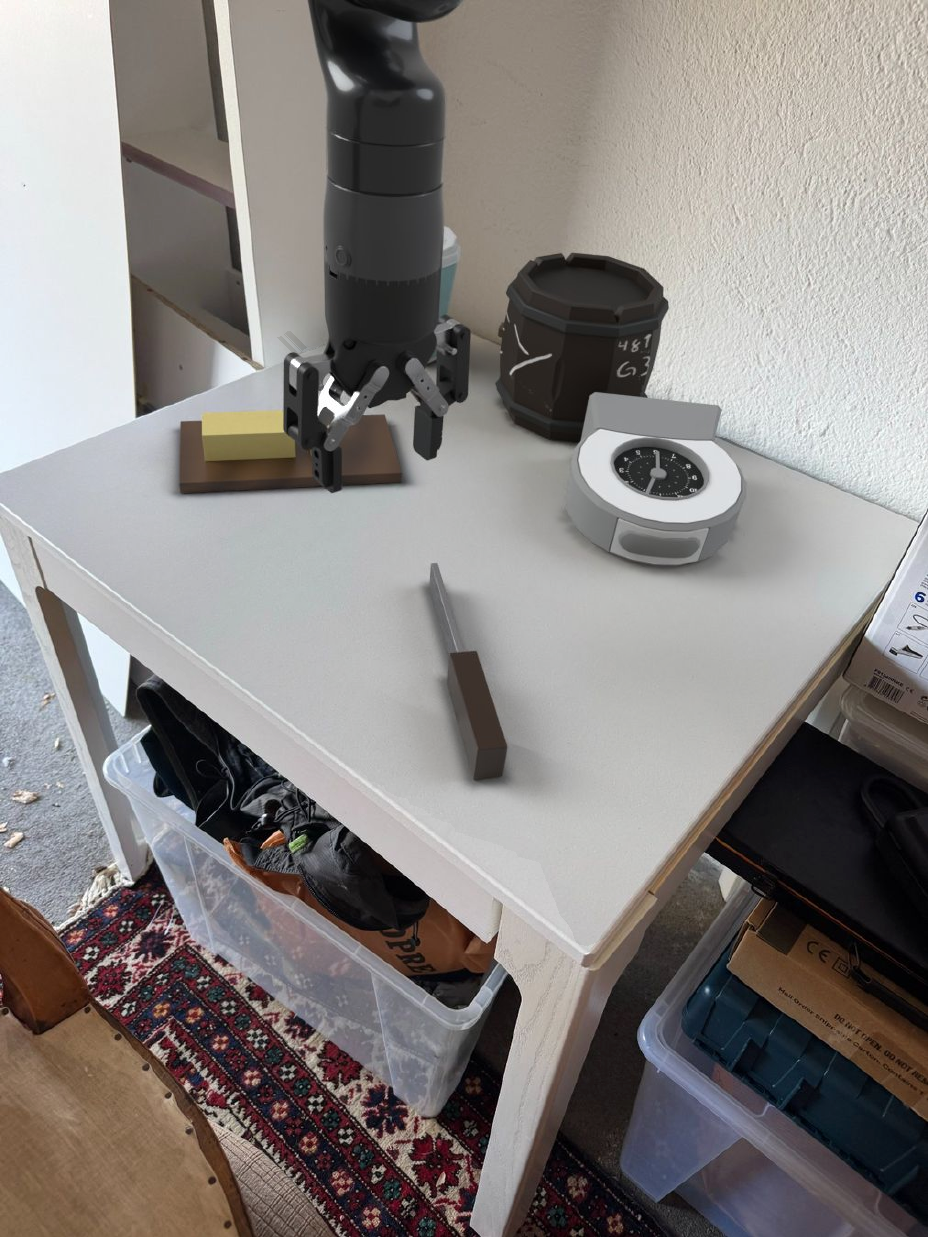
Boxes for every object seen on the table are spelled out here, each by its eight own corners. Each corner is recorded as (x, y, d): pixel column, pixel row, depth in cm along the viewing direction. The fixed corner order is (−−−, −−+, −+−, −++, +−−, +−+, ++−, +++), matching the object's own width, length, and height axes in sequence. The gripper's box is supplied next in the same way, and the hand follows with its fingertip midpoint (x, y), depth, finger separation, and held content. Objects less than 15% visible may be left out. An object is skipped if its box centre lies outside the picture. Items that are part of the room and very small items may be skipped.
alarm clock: (738, 403, 96) (766, 525, 83) (716, 470, 102) (738, 592, 89) (573, 385, 96) (575, 504, 83) (561, 453, 102) (560, 573, 89)
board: (180, 493, 91) (178, 483, 90) (181, 430, 100) (180, 420, 99) (401, 482, 96) (402, 472, 95) (384, 423, 104) (384, 414, 103)
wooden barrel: (517, 360, 119) (533, 235, 108) (654, 394, 115) (684, 267, 104) (468, 423, 106) (481, 288, 95) (620, 463, 102) (651, 327, 91)
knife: (502, 777, 68) (507, 746, 65) (473, 781, 67) (477, 750, 65) (444, 586, 83) (446, 556, 81) (420, 588, 83) (422, 558, 81)
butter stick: (205, 461, 93) (202, 435, 91) (204, 438, 97) (201, 412, 95) (295, 457, 95) (294, 431, 93) (292, 434, 98) (291, 409, 96)
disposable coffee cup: (432, 381, 113) (439, 257, 103) (354, 359, 115) (354, 236, 105) (466, 348, 120) (477, 230, 110) (392, 328, 123) (396, 211, 113)
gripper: (437, 218, 64) (425, 424, 75) (253, 250, 57) (269, 473, 68) (506, 254, 60) (483, 468, 71) (317, 295, 53) (322, 525, 64)
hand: (378, 470), depth 69 cm, fingers open, 8 cm apart
